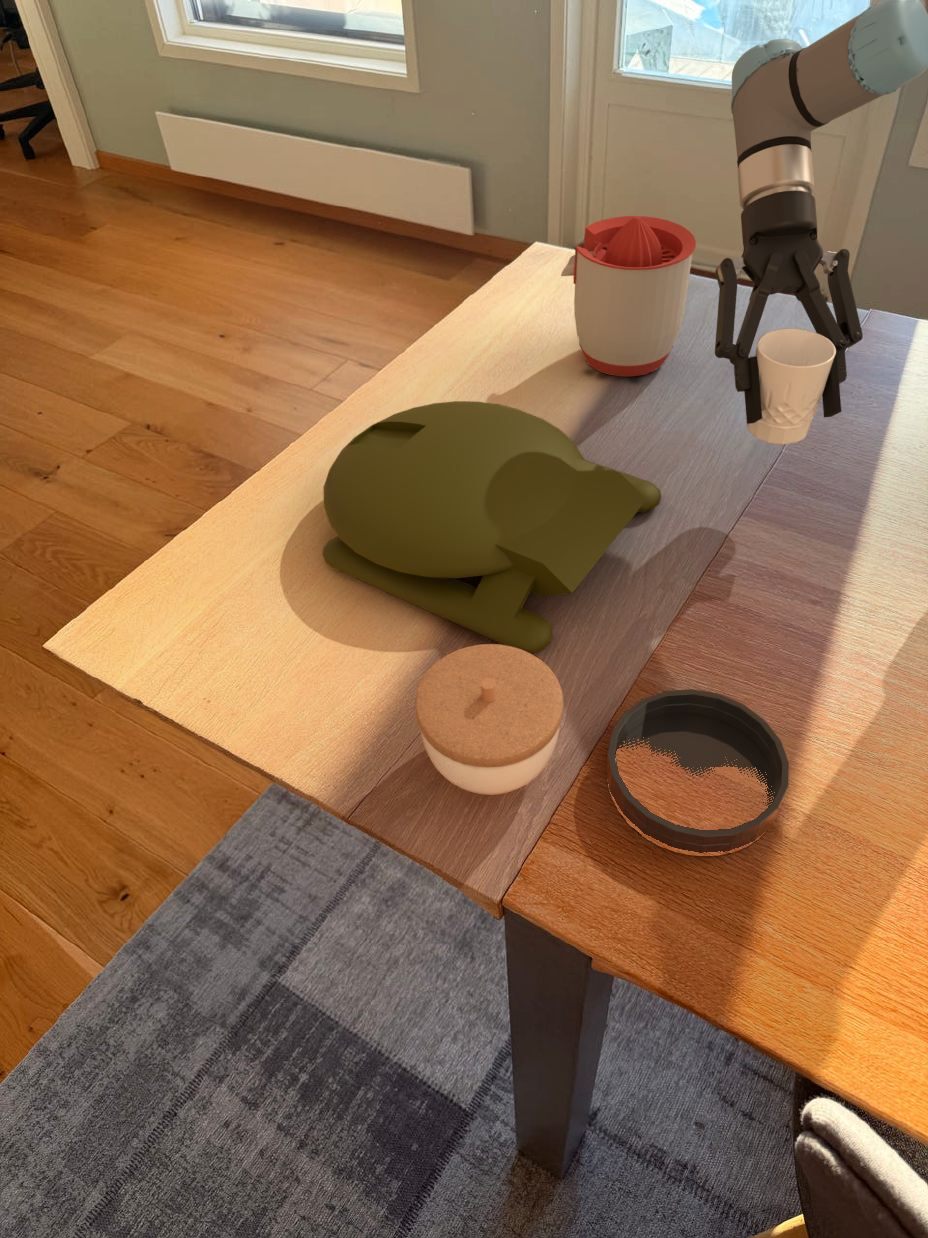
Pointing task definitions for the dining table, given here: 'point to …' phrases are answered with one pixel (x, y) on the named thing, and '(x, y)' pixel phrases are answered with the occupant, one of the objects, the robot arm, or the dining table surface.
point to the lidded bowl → (489, 717)
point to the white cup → (790, 383)
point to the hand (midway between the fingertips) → (793, 417)
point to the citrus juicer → (630, 292)
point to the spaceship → (475, 514)
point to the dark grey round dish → (700, 759)
